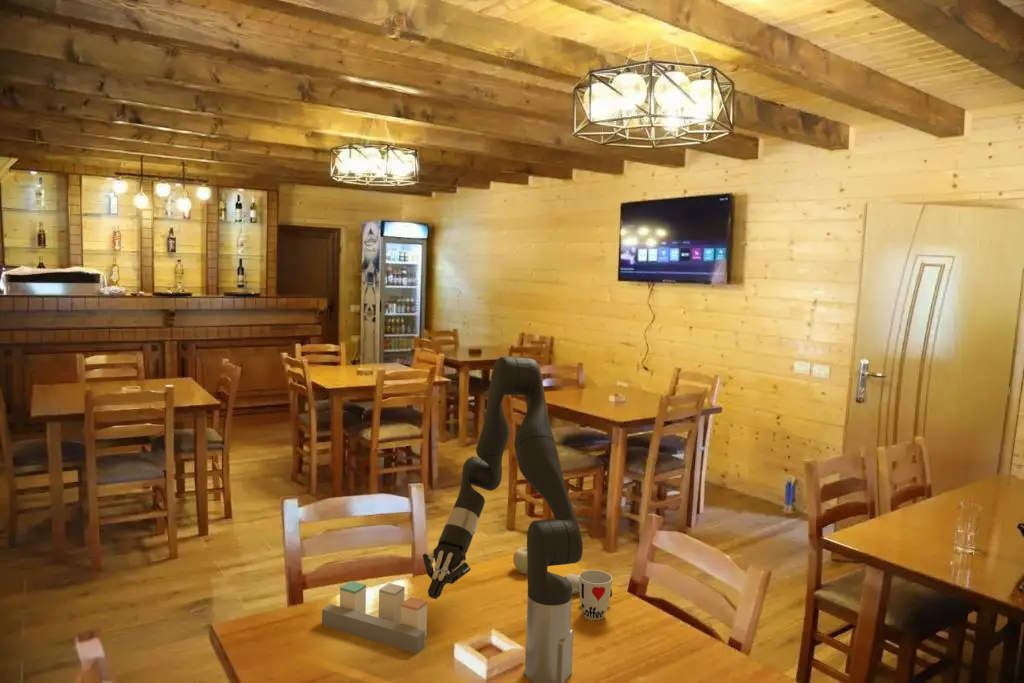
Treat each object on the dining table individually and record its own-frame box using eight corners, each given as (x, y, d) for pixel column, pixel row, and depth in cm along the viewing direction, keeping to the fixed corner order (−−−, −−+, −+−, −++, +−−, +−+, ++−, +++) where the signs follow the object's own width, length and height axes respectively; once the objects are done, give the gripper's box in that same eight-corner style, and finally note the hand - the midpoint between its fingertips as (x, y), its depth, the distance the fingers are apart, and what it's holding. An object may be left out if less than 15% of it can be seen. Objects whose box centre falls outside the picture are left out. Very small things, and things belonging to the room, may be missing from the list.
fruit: (544, 572, 199) (545, 545, 199) (525, 579, 194) (526, 551, 194) (525, 564, 205) (526, 537, 204) (507, 570, 200) (508, 543, 199)
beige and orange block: (426, 635, 160) (427, 601, 159) (416, 643, 157) (417, 608, 156) (410, 631, 162) (410, 596, 161) (400, 639, 158) (400, 603, 158)
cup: (572, 618, 173) (574, 579, 172) (583, 605, 180) (585, 567, 179) (604, 626, 170) (606, 586, 169) (614, 612, 177) (616, 574, 176)
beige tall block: (403, 620, 167) (404, 586, 166) (394, 627, 163) (394, 593, 163) (388, 615, 169) (389, 582, 168) (378, 623, 165) (379, 589, 164)
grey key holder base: (454, 626, 167) (454, 606, 167) (417, 659, 153) (417, 637, 152) (364, 602, 178) (364, 583, 178) (322, 630, 164) (322, 609, 163)
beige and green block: (365, 618, 167) (365, 584, 167) (354, 625, 164) (355, 591, 163) (350, 613, 169) (350, 580, 168) (339, 621, 166) (340, 587, 165)
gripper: (431, 518, 176) (402, 584, 166) (478, 528, 171) (451, 597, 161) (441, 532, 181) (414, 597, 171) (487, 542, 176) (462, 609, 166)
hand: (432, 597), depth 166 cm, fingers closed
